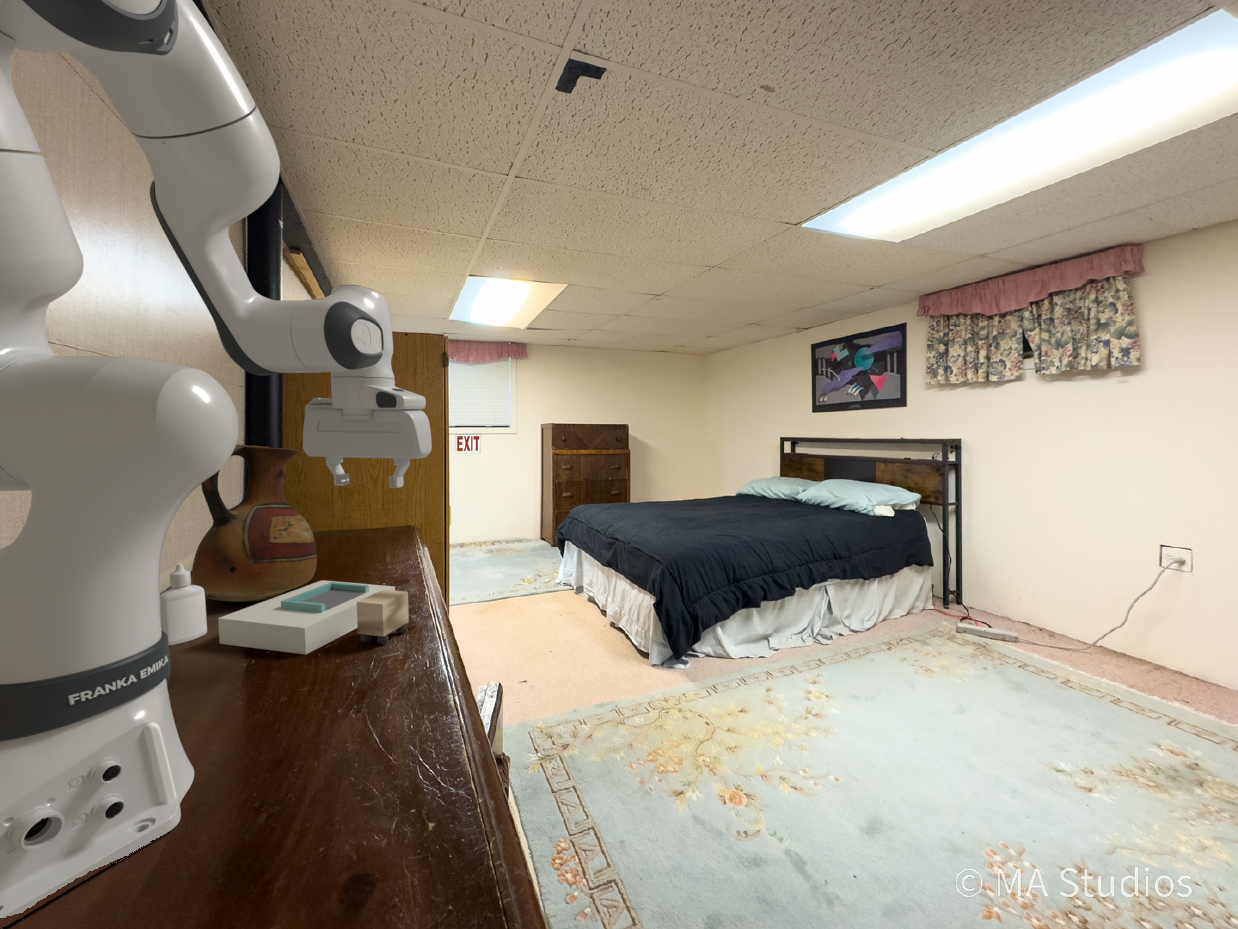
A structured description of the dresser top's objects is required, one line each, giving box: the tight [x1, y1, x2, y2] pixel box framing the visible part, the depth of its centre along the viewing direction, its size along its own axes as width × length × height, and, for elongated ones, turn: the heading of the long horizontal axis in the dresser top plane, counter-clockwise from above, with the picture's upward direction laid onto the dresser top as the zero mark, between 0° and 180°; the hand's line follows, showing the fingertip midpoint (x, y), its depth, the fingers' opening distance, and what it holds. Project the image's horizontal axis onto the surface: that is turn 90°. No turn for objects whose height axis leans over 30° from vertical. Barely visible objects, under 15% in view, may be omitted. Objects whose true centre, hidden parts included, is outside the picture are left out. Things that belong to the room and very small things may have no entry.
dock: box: [217, 580, 396, 655], centre depth 87 cm, size 20×16×5 cm
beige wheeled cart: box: [357, 590, 410, 645], centre depth 81 cm, size 6×5×7 cm
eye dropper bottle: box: [160, 563, 208, 647], centre depth 80 cm, size 4×6×12 cm
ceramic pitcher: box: [191, 443, 318, 603], centre depth 101 cm, size 20×20×30 cm
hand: (368, 486), depth 81 cm, fingers open, 8 cm apart
